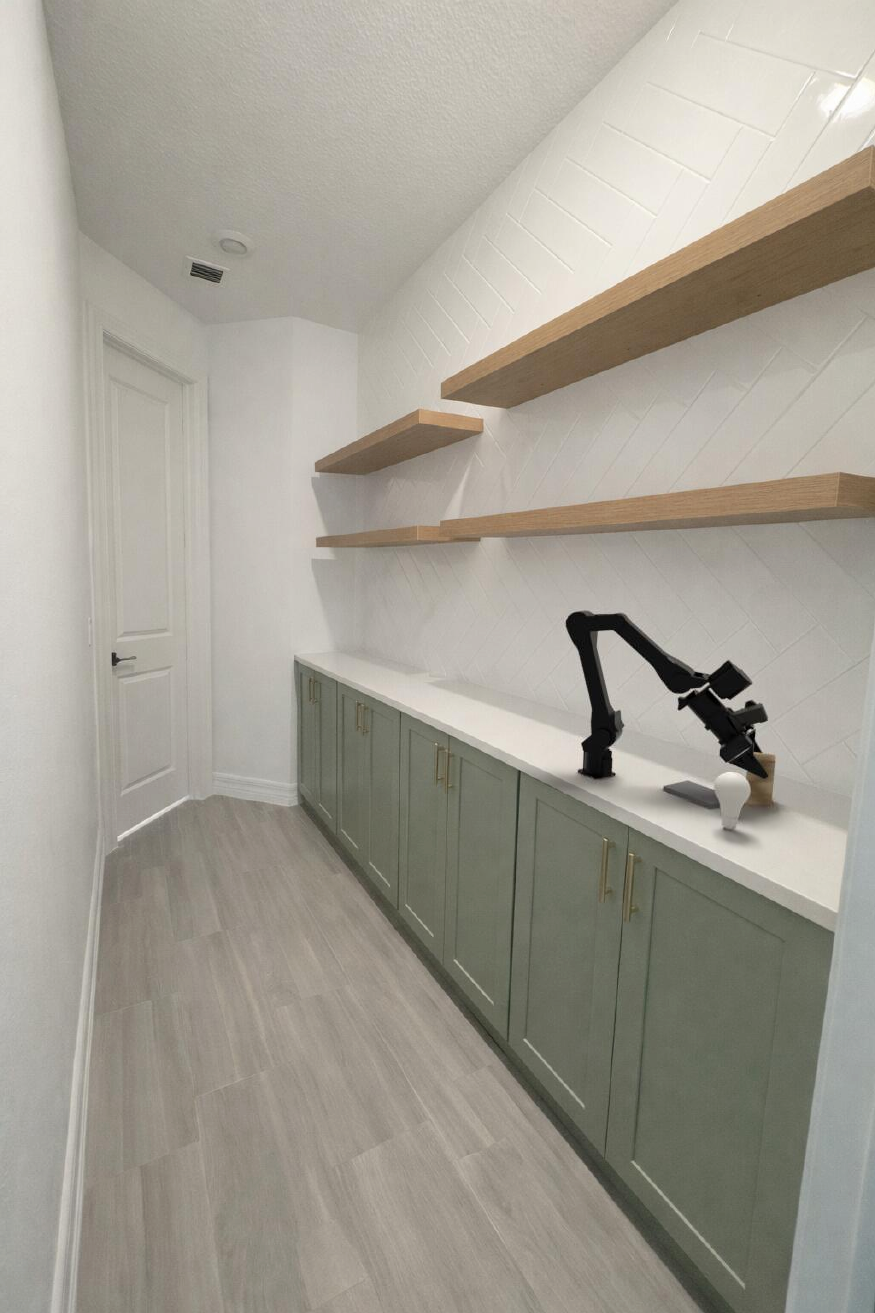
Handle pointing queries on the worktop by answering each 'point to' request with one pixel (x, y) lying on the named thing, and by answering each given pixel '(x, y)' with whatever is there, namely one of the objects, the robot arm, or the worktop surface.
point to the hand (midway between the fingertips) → (766, 771)
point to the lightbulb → (731, 796)
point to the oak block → (762, 782)
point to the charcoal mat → (694, 793)
